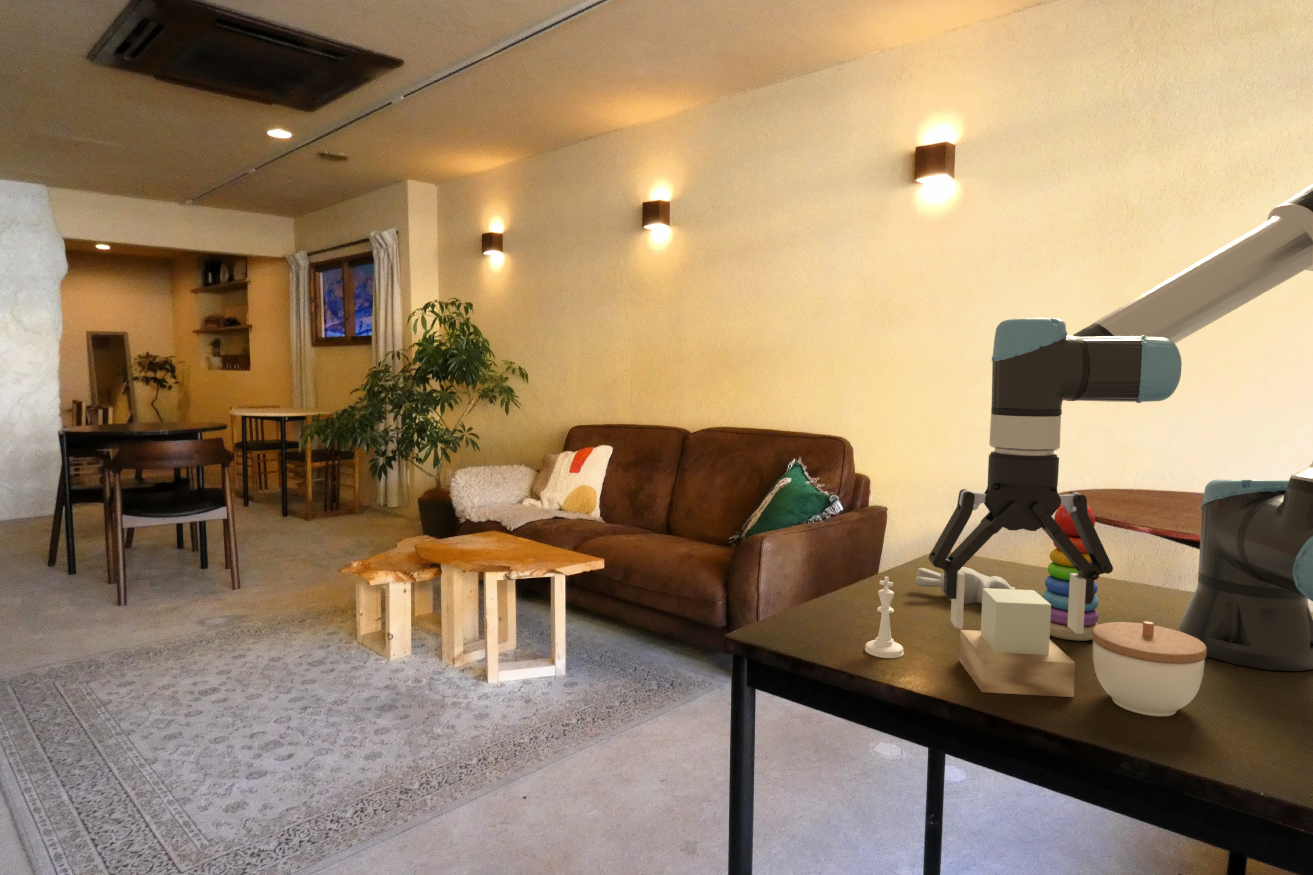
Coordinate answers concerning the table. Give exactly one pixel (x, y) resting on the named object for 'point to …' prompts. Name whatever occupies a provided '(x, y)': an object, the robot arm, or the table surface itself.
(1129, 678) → the lidded jar
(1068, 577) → the stacking toy
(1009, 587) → the bunny figurine
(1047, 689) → the plinth
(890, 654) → the chess piece
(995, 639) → the cube
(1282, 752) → the table surface
